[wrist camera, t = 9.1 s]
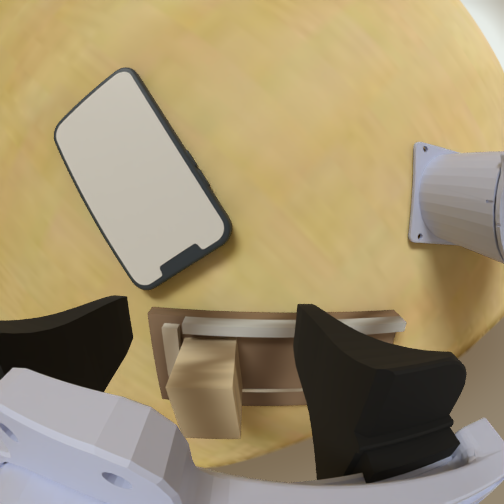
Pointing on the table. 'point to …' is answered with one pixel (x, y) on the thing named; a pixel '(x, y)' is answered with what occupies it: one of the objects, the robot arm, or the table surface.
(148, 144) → the smartphone
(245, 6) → the table surface
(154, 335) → the board
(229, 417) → the block
